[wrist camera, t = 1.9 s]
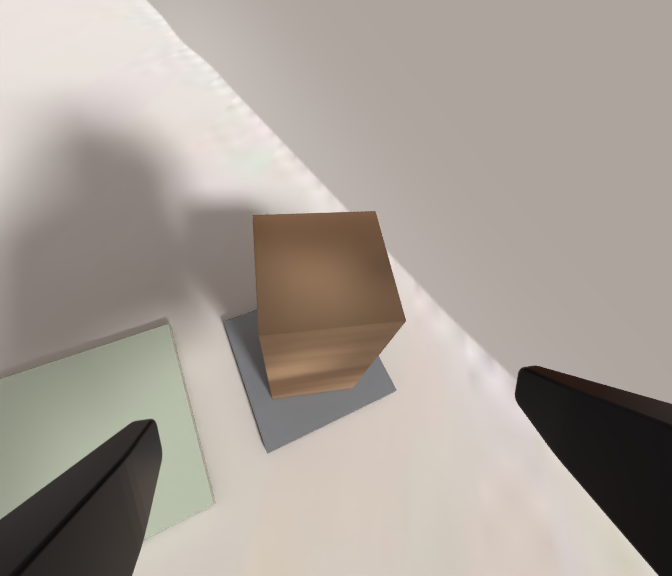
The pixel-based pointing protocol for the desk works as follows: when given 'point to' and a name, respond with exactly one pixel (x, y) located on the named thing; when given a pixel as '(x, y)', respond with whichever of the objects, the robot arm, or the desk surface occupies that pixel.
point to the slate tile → (299, 411)
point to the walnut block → (322, 299)
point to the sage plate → (103, 421)
